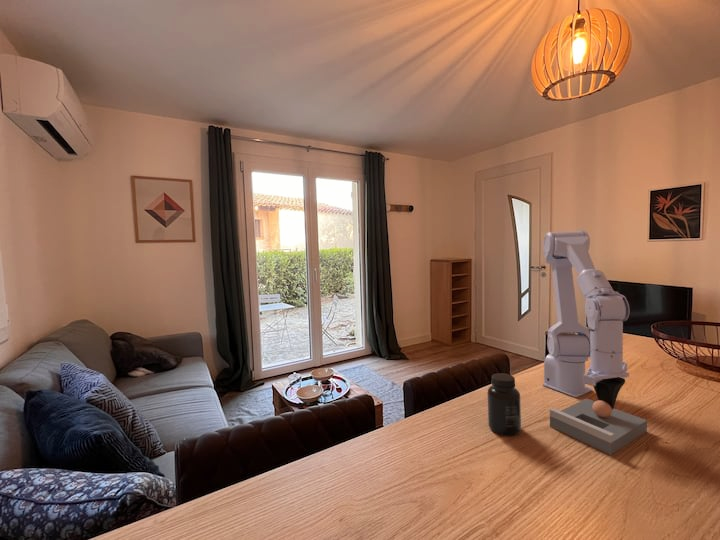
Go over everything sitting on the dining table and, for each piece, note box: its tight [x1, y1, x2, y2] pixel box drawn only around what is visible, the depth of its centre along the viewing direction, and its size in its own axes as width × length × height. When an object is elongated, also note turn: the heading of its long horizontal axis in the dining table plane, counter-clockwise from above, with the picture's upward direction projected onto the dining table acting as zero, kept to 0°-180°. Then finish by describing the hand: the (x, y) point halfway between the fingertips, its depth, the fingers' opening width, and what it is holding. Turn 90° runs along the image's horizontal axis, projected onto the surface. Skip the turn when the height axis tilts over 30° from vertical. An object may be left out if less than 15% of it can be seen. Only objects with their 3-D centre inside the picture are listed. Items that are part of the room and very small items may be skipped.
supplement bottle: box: [487, 372, 522, 437], centre depth 74 cm, size 7×7×12 cm
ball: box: [592, 399, 612, 417], centre depth 73 cm, size 4×4×4 cm
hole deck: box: [549, 398, 648, 456], centre depth 72 cm, size 12×15×4 cm
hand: (606, 408), depth 73 cm, fingers closed, pressing on ball
